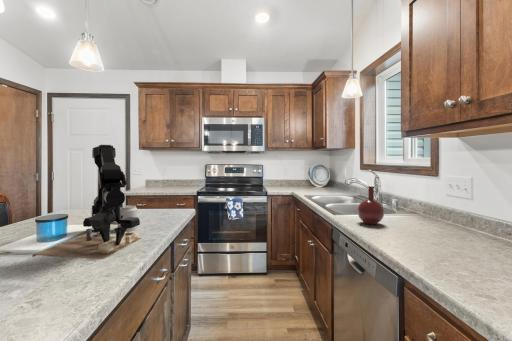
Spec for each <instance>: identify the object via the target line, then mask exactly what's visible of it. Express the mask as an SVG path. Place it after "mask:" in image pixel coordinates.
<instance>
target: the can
mask: <svg viewBox="0 0 512 341" xmlns="http://www.w3.org/2000/svg"><path fill="white" fill-rule="evenodd" d="M138 210H139V209H138V208H137V206H136V205H134V204H133V205H131V204H130V205H129V204H128V205H123V207H121V215H123V218H121V219H122V220H123V219H126V218H128V217H138V215H139V212H138ZM138 218H139V217H138ZM138 227H139V225H138V226H135V227H133V228H127V230H126V232H136V231H138V229H139V228H138Z"/></svg>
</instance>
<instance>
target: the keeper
mask: <svg viewBox="0 0 512 341" xmlns="http://www.w3.org/2000/svg"><path fill="white" fill-rule="evenodd" d="M99 236H101V235H100V233H99V232H95V233H92V234H90V237H92V238H94V237H99ZM110 236H111V234H110V235H109V240H110ZM102 243H104V241H103V239H102Z"/></svg>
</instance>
